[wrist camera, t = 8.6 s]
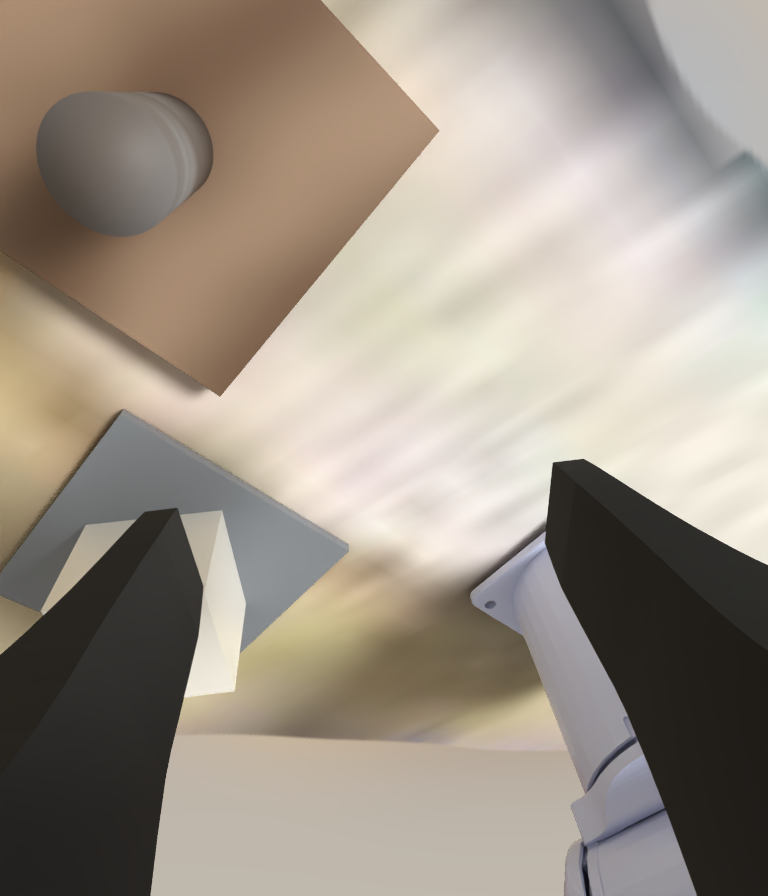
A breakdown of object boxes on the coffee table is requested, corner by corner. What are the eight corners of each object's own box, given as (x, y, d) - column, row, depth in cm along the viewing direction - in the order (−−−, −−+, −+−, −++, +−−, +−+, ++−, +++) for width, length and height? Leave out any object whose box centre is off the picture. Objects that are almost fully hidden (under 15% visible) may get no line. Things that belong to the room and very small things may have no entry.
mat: (348, 544, 24) (348, 551, 23) (210, 674, 27) (208, 682, 27) (123, 408, 19) (120, 414, 19) (-8, 582, 23) (-13, 590, 22)
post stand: (431, 127, 16) (486, 144, 11) (225, 380, 19) (194, 482, 14) (91, -243, 12) (-74, -494, 7) (-99, 161, 15) (-306, 194, 10)
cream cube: (246, 603, 24) (233, 698, 20) (125, 617, 24) (89, 716, 20) (221, 510, 22) (202, 599, 18) (85, 524, 21) (36, 618, 18)
